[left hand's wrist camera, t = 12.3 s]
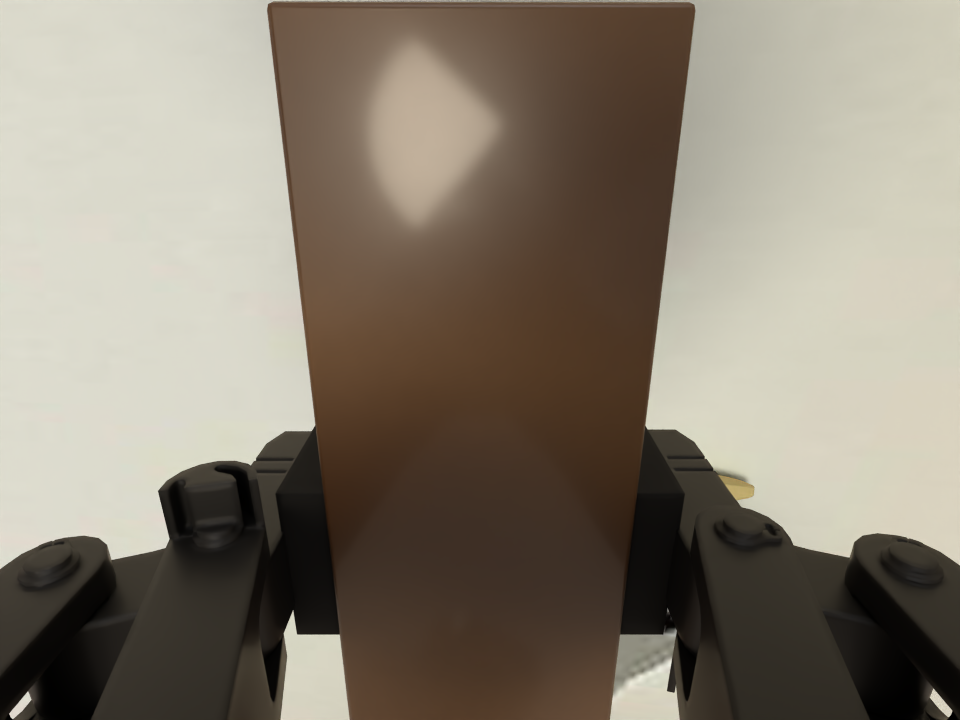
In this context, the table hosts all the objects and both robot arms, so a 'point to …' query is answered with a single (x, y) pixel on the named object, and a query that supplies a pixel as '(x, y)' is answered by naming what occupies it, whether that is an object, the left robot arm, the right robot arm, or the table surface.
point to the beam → (480, 331)
